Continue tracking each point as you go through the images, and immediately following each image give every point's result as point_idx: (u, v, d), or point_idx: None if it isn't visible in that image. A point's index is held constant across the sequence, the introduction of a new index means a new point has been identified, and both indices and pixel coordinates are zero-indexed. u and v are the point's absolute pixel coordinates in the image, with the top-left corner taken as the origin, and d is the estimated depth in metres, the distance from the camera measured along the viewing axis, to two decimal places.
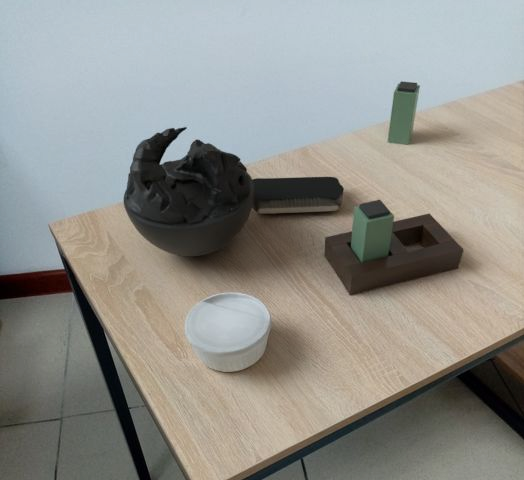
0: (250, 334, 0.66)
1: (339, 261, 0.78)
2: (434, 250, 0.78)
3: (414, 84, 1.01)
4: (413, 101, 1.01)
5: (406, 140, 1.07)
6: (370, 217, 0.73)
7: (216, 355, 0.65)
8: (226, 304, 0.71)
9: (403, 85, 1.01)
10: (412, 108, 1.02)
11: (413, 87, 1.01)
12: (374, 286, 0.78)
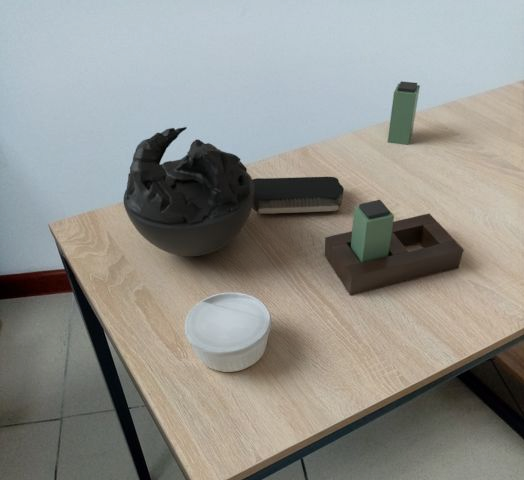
0: (250, 334, 0.66)
1: (339, 261, 0.78)
2: (434, 250, 0.78)
3: (414, 84, 1.01)
4: (413, 101, 1.01)
5: (406, 140, 1.07)
6: (370, 217, 0.73)
7: (216, 355, 0.65)
8: (226, 304, 0.71)
9: (403, 85, 1.01)
10: (412, 108, 1.02)
11: (413, 87, 1.01)
12: (374, 286, 0.78)
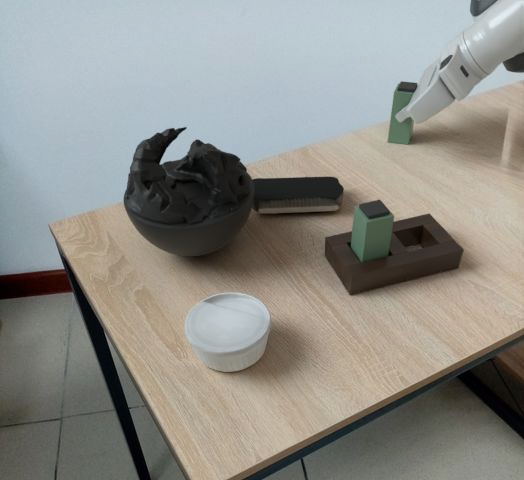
0: (250, 334, 0.66)
1: (339, 261, 0.78)
2: (434, 250, 0.78)
3: (414, 84, 1.01)
4: None
5: (406, 140, 1.07)
6: (370, 217, 0.73)
7: (216, 355, 0.65)
8: (226, 304, 0.71)
9: (403, 85, 1.01)
10: None
11: (413, 87, 1.01)
12: (374, 286, 0.78)
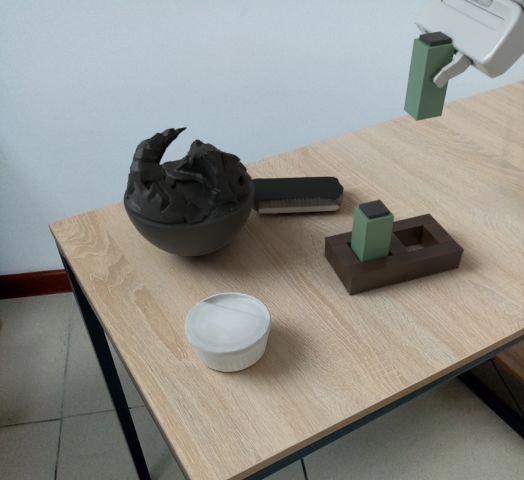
0: (250, 334, 0.66)
1: (339, 261, 0.78)
2: (434, 250, 0.78)
3: (440, 33, 0.74)
4: (452, 55, 0.74)
5: (440, 110, 0.80)
6: (370, 217, 0.73)
7: (216, 355, 0.65)
8: (226, 304, 0.71)
9: (431, 37, 0.73)
10: None
11: (446, 36, 0.73)
12: (374, 286, 0.78)
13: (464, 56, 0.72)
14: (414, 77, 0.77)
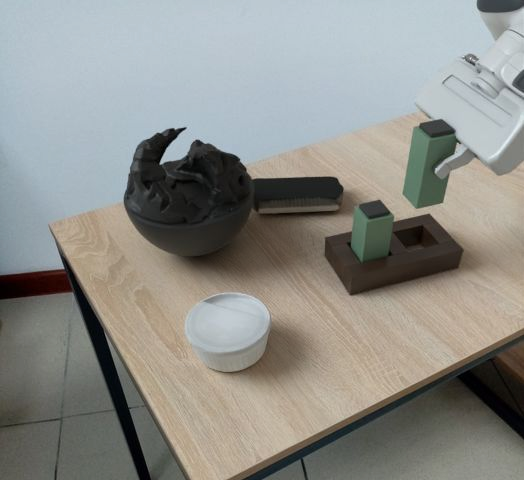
0: (250, 334, 0.66)
1: (339, 261, 0.78)
2: (434, 250, 0.78)
3: (442, 122, 0.69)
4: (454, 145, 0.68)
5: (441, 198, 0.74)
6: (370, 217, 0.73)
7: (216, 355, 0.65)
8: (226, 304, 0.71)
9: (432, 127, 0.68)
10: None
11: (448, 126, 0.68)
12: (374, 286, 0.78)
13: (468, 149, 0.67)
14: (414, 165, 0.72)
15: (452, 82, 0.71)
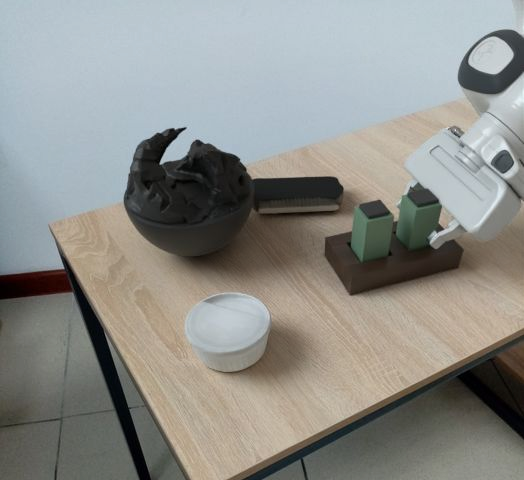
0: (250, 334, 0.66)
1: (339, 261, 0.78)
2: (434, 250, 0.78)
3: (428, 191, 0.76)
4: (439, 213, 0.76)
5: None
6: (370, 217, 0.73)
7: (216, 355, 0.65)
8: (226, 304, 0.71)
9: (419, 197, 0.75)
10: (437, 221, 0.77)
11: (433, 196, 0.75)
12: (374, 286, 0.78)
13: (460, 225, 0.72)
14: (403, 228, 0.79)
15: (438, 153, 0.78)
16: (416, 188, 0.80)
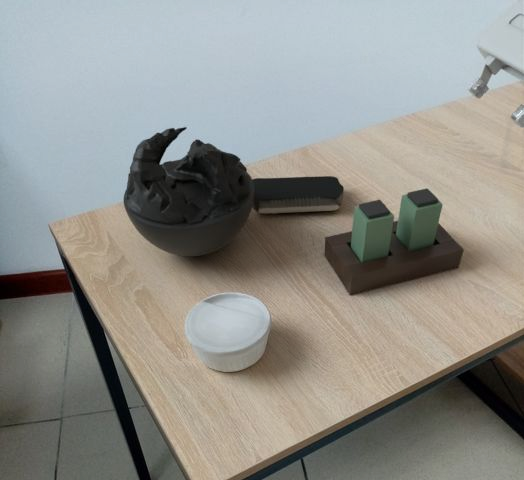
0: (250, 334, 0.66)
1: (339, 261, 0.78)
2: (434, 250, 0.78)
3: (428, 191, 0.76)
4: (439, 213, 0.76)
5: None
6: (370, 217, 0.73)
7: (216, 355, 0.65)
8: (226, 304, 0.71)
9: (419, 197, 0.75)
10: (437, 221, 0.77)
11: (433, 196, 0.75)
12: (374, 286, 0.78)
13: None
14: (403, 228, 0.79)
15: (520, 21, 0.68)
16: (492, 66, 0.71)
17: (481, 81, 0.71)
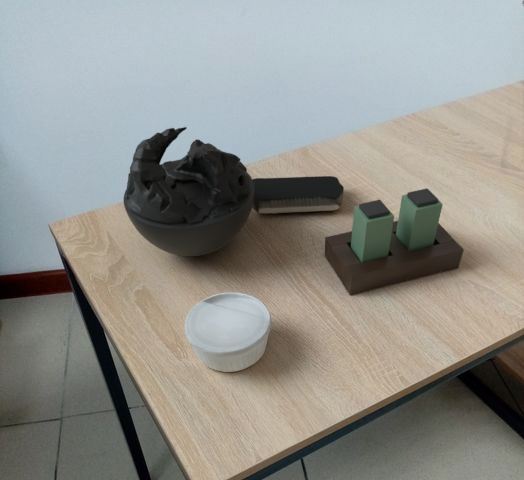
0: (250, 334, 0.66)
1: (339, 261, 0.78)
2: (434, 250, 0.78)
3: (428, 191, 0.76)
4: (439, 213, 0.76)
5: None
6: (370, 217, 0.73)
7: (216, 355, 0.65)
8: (226, 304, 0.71)
9: (419, 197, 0.75)
10: (437, 221, 0.77)
11: (433, 196, 0.75)
12: (374, 286, 0.78)
13: None
14: (403, 228, 0.79)
15: None
16: None
17: None
